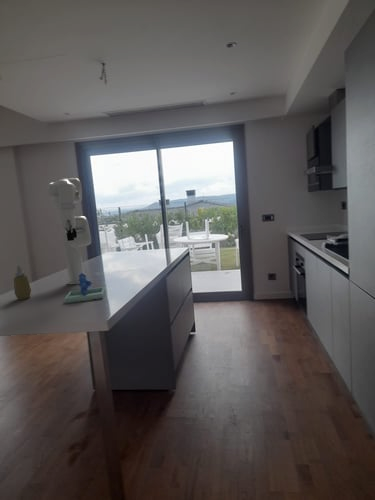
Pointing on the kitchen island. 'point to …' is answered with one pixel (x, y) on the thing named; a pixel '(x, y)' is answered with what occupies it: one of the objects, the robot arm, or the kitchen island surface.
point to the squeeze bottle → (21, 285)
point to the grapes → (84, 284)
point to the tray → (92, 294)
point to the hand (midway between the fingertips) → (72, 239)
